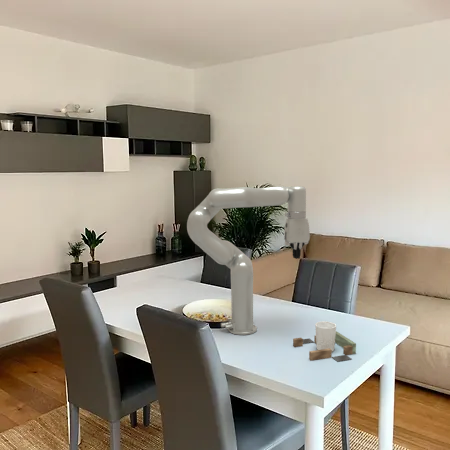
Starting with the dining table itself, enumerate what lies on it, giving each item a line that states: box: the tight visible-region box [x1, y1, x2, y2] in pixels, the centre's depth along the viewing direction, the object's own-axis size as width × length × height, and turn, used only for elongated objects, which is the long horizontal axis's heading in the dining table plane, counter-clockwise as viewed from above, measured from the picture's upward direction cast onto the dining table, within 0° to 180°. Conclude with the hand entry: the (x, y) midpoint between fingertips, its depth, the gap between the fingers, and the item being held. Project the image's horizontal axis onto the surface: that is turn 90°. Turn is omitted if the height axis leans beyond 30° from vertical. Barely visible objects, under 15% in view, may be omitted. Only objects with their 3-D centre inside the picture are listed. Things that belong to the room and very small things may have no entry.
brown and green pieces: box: [292, 330, 357, 363], centre depth 180 cm, size 19×24×4 cm
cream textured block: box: [315, 320, 337, 353], centre depth 180 cm, size 8×8×10 cm
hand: (296, 258), depth 197 cm, fingers closed
